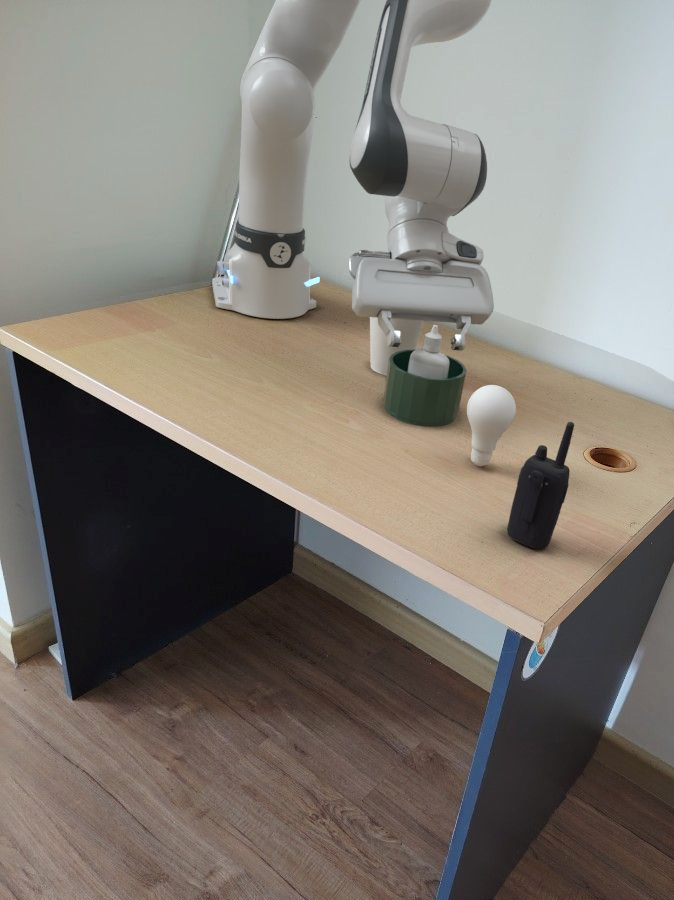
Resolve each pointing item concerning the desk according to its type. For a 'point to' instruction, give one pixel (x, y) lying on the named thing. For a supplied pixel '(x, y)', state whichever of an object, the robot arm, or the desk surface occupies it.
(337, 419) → the desk surface
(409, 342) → the foam cup
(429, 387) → the tin
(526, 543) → the two-way radio
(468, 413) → the lightbulb
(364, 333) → the desk surface
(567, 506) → the desk surface
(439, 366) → the eye dropper bottle
